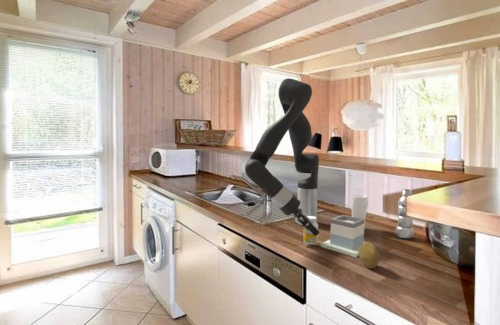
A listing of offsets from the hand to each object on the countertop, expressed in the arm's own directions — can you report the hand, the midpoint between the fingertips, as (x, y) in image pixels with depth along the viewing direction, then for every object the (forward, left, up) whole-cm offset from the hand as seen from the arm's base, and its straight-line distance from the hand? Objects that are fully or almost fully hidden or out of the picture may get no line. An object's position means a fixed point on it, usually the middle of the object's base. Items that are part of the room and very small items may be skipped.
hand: (315, 231), depth 117 cm
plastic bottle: (+21, +35, -6) cm, 41 cm away
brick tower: (+9, +8, -6) cm, 13 cm away
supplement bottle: (-1, -1, -5) cm, 5 cm away
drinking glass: (+2, +33, -6) cm, 33 cm away
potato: (+22, -4, -6) cm, 23 cm away
